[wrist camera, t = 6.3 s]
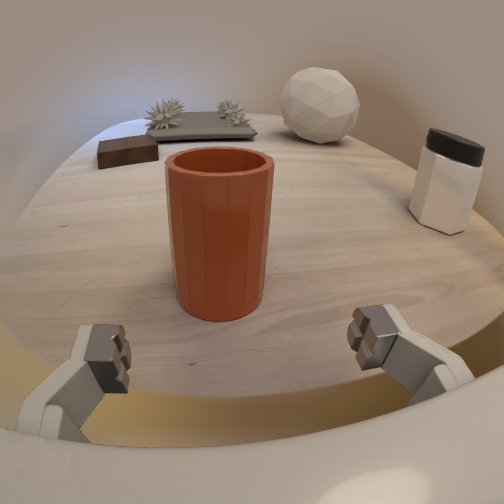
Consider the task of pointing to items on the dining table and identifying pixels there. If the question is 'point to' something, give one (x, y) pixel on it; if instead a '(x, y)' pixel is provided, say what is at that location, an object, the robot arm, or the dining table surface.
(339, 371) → the dining table surface
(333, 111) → the sphere
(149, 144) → the stand
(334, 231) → the dining table surface
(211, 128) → the decorative tray
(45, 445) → the robot arm
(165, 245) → the dining table surface
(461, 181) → the jar
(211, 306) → the pot
